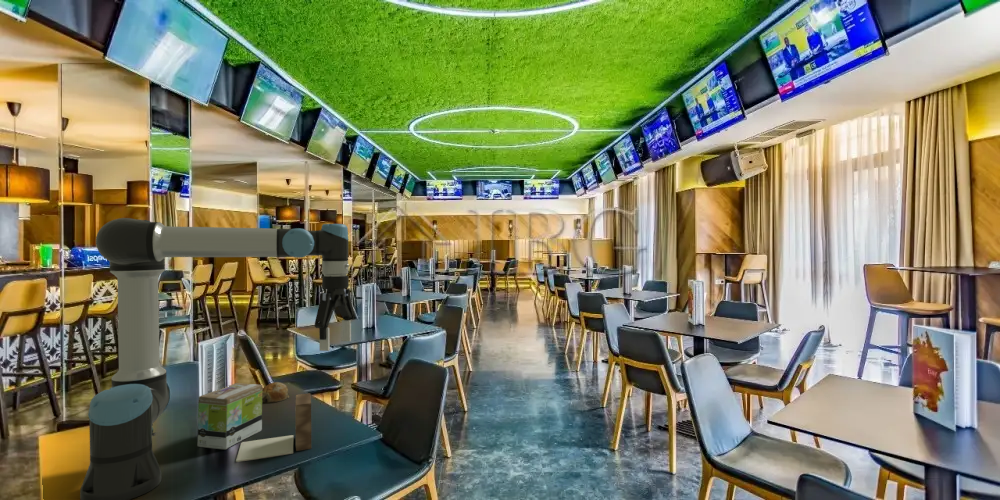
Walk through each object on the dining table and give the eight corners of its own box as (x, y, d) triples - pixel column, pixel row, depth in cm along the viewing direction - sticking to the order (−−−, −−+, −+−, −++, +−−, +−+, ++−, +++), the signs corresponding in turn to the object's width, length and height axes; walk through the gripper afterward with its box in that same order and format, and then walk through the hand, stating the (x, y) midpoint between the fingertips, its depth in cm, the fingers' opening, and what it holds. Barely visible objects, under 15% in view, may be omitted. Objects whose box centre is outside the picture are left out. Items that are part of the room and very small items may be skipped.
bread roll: (285, 410, 179) (295, 390, 180) (257, 403, 174) (268, 382, 175) (281, 403, 187) (291, 383, 189) (255, 396, 182) (265, 375, 184)
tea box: (227, 450, 136) (226, 398, 135) (196, 447, 138) (196, 396, 138) (263, 430, 150) (263, 383, 150) (235, 428, 152) (235, 381, 152)
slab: (295, 451, 135) (295, 405, 135) (295, 437, 144) (295, 394, 144) (311, 448, 137) (311, 403, 137) (310, 435, 146) (310, 393, 146)
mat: (235, 462, 128) (235, 460, 128) (241, 443, 140) (241, 442, 140) (293, 453, 134) (293, 452, 134) (293, 436, 146) (293, 434, 146)
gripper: (326, 278, 132) (326, 355, 132) (364, 272, 156) (365, 337, 157) (300, 278, 133) (301, 354, 133) (343, 272, 157) (343, 337, 158)
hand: (336, 345), depth 145 cm, fingers open, 13 cm apart
